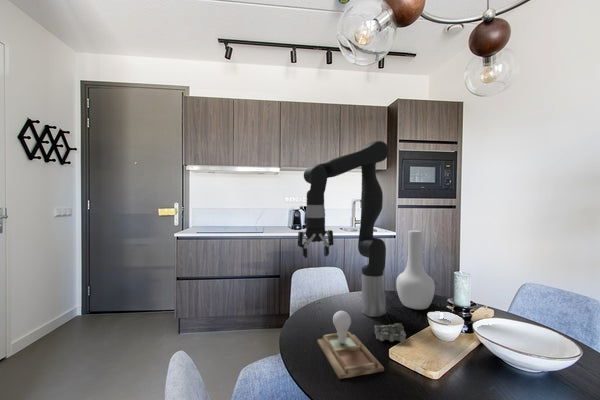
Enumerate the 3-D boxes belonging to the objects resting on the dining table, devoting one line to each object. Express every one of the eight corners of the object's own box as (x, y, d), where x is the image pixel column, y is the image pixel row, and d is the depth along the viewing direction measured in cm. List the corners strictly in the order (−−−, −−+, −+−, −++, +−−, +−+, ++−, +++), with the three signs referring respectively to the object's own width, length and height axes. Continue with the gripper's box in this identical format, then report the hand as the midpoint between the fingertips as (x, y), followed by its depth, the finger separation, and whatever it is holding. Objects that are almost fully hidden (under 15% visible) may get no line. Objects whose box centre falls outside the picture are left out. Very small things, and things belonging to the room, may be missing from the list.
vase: (398, 310, 122) (398, 232, 122) (394, 296, 139) (394, 228, 138) (439, 313, 119) (439, 233, 118) (429, 299, 135) (429, 229, 134)
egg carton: (403, 333, 102) (403, 323, 102) (407, 344, 95) (407, 332, 95) (373, 331, 104) (373, 320, 104) (375, 341, 97) (375, 329, 97)
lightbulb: (351, 349, 89) (350, 315, 89) (332, 347, 90) (332, 314, 90) (351, 340, 95) (351, 308, 95) (333, 338, 96) (333, 307, 96)
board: (354, 337, 99) (353, 330, 99) (383, 371, 80) (383, 362, 80) (317, 342, 96) (317, 335, 96) (339, 379, 76) (339, 370, 76)
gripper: (328, 215, 113) (328, 253, 114) (295, 216, 110) (296, 256, 110) (335, 216, 106) (336, 257, 106) (300, 217, 102) (301, 260, 103)
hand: (315, 256), depth 108 cm, fingers open, 8 cm apart
